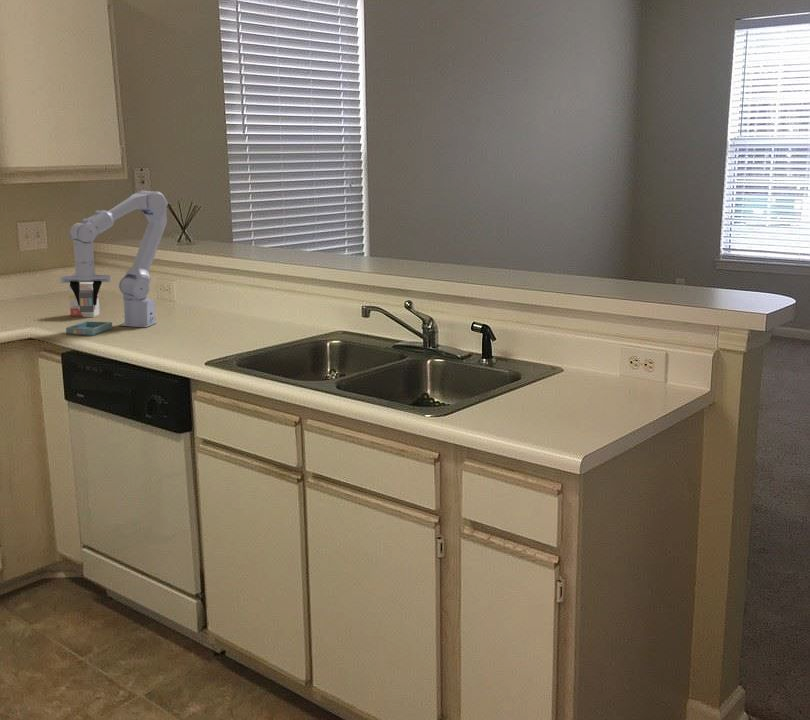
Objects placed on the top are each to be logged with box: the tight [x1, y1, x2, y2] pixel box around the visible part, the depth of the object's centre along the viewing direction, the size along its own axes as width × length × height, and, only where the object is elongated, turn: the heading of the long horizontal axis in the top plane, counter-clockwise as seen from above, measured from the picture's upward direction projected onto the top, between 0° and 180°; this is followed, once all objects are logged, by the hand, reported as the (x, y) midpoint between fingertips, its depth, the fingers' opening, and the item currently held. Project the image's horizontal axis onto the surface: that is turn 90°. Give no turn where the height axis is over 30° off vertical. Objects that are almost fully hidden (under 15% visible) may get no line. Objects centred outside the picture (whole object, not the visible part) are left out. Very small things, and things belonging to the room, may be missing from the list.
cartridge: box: [79, 290, 95, 312], centre depth 286 cm, size 4×7×6 cm, turn 14°
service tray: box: [65, 320, 113, 337], centre depth 288 cm, size 9×12×2 cm
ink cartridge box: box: [68, 271, 100, 318], centre depth 312 cm, size 9×5×15 cm, turn 84°
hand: (87, 305), depth 286 cm, fingers closed on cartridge, 4 cm apart
